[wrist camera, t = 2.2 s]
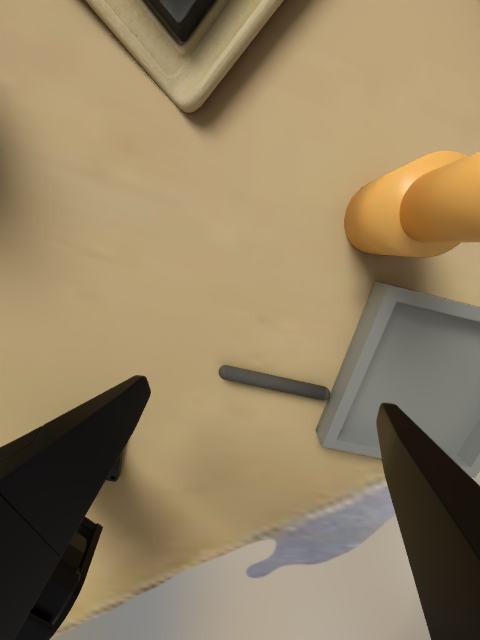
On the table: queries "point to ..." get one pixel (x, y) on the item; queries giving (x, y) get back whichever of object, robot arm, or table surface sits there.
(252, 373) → the rod
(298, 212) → the table surface
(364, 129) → the table surface
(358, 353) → the grey square tray
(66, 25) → the table surface
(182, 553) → the table surface
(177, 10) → the wooden puzzle
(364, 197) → the orange rounded stepped post
